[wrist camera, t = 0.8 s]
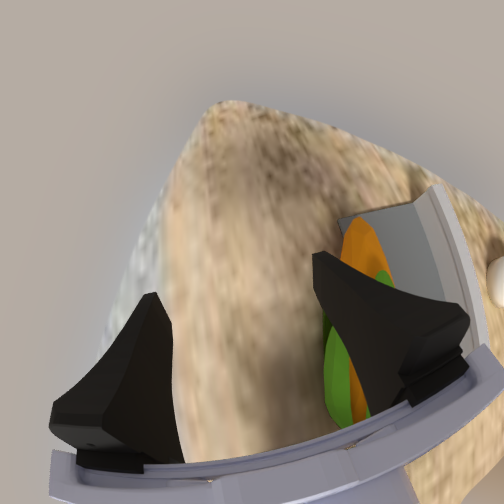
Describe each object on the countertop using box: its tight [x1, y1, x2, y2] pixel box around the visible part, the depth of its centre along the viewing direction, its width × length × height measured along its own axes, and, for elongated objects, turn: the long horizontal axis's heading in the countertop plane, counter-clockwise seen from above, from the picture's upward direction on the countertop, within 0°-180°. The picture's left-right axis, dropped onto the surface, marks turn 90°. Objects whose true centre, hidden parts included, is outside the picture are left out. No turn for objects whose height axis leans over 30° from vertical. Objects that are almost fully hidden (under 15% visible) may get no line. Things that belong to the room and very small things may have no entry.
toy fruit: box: [323, 216, 395, 429], centre depth 21 cm, size 7×8×20 cm
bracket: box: [337, 184, 490, 359], centre depth 22 cm, size 22×12×5 cm, turn 14°
